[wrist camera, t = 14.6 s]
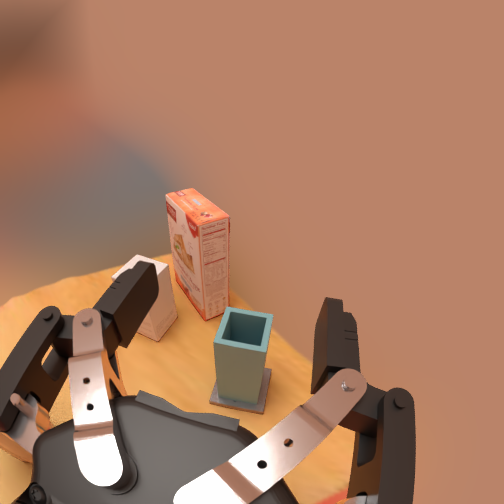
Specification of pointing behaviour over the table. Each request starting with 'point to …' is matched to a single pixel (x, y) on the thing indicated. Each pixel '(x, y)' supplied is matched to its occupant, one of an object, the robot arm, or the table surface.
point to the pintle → (242, 405)
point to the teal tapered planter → (241, 353)
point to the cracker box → (200, 250)
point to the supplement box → (164, 305)
